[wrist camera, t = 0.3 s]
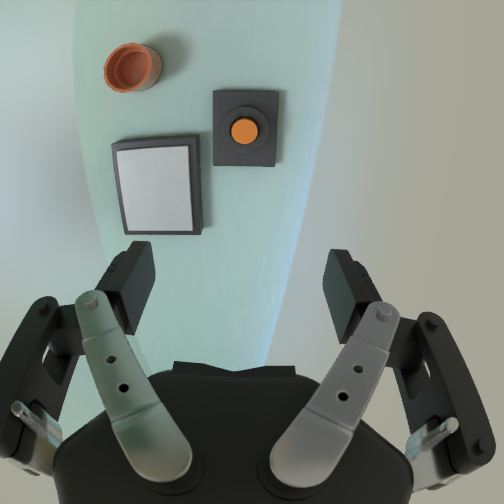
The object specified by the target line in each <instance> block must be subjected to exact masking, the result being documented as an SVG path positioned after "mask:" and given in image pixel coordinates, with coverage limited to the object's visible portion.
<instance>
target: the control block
mask: <svg viewBox="0 0 504 504" xmlns="http://www.w3.org/2000/svg"><path fill="white" fill-rule="evenodd" d="M278 97H279V92H271V91H237V90H229V91H213V166H262V167H275V156H276V137H277V118H278ZM242 118H248V119H251V120H252V121H253V122H254V123H255V124H256V126H257V130H258V134H257V137H256V139H255V140H254V141H253V142H251V143H249V144H240V143H238V142H236V141H235V140H234V138H233V137H232V132H231V131H232V127H233V125H234V123H235V122H236V121H237V120H239V119H242Z"/></svg>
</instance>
